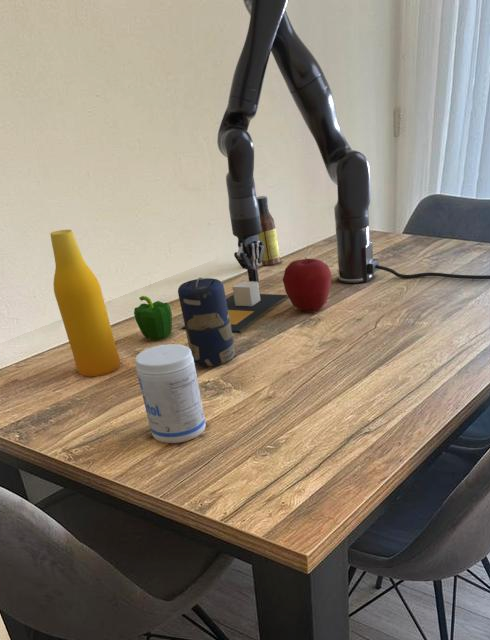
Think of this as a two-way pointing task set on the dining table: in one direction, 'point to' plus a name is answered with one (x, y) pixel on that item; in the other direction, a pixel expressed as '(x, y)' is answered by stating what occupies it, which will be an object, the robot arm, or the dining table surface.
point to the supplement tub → (171, 393)
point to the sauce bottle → (268, 234)
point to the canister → (207, 321)
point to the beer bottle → (82, 309)
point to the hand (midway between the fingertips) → (254, 282)
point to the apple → (307, 284)
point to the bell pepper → (154, 319)
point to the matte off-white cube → (246, 293)
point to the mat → (249, 310)
